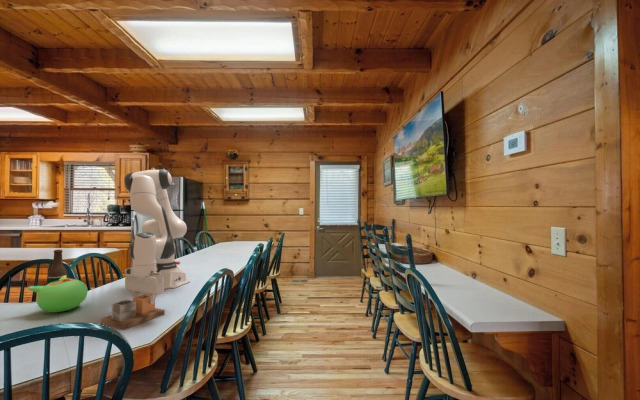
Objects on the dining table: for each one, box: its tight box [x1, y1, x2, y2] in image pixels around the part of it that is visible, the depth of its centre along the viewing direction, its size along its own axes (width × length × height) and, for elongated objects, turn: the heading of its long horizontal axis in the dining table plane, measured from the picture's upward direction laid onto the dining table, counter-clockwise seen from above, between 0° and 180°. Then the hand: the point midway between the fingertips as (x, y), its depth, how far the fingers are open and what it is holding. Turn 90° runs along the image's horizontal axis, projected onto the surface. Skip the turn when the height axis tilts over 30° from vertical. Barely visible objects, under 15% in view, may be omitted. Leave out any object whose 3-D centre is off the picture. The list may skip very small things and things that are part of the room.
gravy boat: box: [27, 275, 88, 313], centre depth 139 cm, size 18×17×15 cm
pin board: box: [100, 299, 165, 330], centre depth 130 cm, size 18×14×8 cm
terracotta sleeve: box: [132, 293, 156, 314], centre depth 134 cm, size 6×6×6 cm
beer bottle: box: [47, 249, 68, 284], centre depth 158 cm, size 8×8×24 cm
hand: (144, 302), depth 134 cm, fingers open, 8 cm apart
